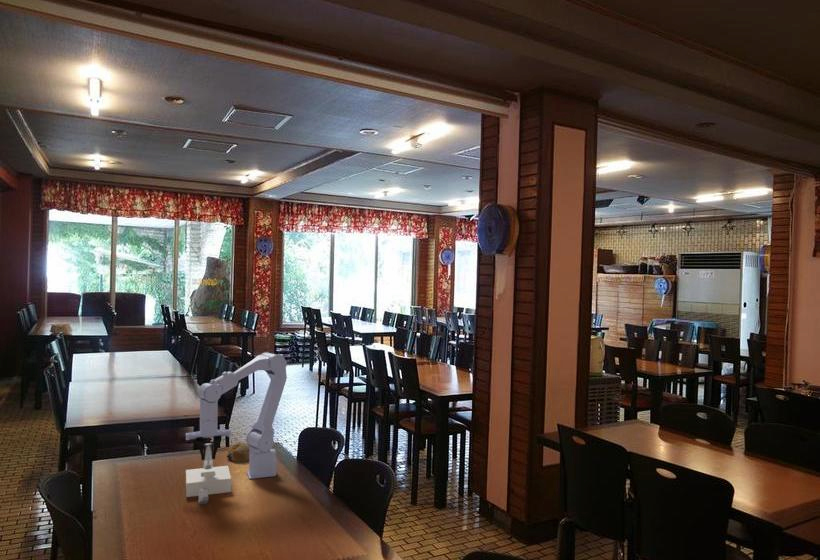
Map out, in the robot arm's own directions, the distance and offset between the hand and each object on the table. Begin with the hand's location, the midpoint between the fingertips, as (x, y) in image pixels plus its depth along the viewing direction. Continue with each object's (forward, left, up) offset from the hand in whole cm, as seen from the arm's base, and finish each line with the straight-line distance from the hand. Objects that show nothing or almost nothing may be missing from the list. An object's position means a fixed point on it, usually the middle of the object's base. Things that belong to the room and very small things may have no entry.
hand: (208, 458), depth 199 cm
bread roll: (-14, -29, -10) cm, 34 cm away
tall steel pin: (0, 0, -3) cm, 3 cm away
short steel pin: (+2, +13, -10) cm, 16 cm away
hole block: (0, 0, -10) cm, 10 cm away
